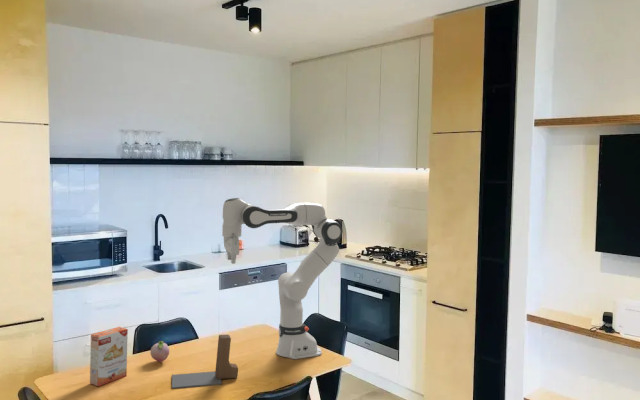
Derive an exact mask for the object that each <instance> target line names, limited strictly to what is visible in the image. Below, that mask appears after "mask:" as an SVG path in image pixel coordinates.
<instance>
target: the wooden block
mask: <svg viewBox="0 0 640 400" xmlns="http://www.w3.org/2000/svg"><path fill="white" fill-rule="evenodd" d="M231 341H232V338H231V335H229V334H218V342H217V351H216V352H217V353H216V362H215V376H216V378H217V379H221V380H223V379H237V378H238V375H239V367H238V365H237V364H236V363H230V351H231V344H232V343H231Z"/></svg>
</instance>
